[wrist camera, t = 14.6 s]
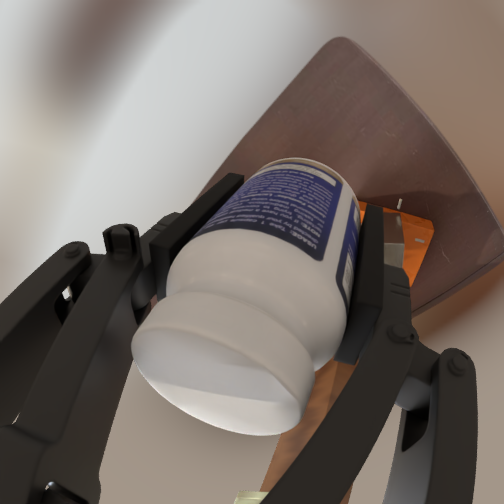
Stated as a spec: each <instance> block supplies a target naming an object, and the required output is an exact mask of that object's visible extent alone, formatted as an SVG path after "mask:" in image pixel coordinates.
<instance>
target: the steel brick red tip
mask: <svg viewBox="0 0 504 504" xmlns="http://www.w3.org/2000/svg"><path fill="white" fill-rule="evenodd" d="M383 214H384V264H388V265H392V266H395V267H399V268H403V258H404V246H405V243H404V235H403V227H402V220H401V214H400V213H391V212H383Z"/></svg>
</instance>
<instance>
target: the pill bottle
mask: <svg viewBox="0 0 504 504" xmlns="http://www.w3.org/2000/svg"><path fill="white" fill-rule="evenodd" d="M360 230H361V214H360V208H359V204H358V201H357V199H356V196H355V194H354V192H353V191H352V189H351V187H350V186H349V185H348V183H347V182H346V181H345V180H344V179H343V178H342V177H341V176H340V175H339V174H338V173H337V172H335V171H334V170H333V169H331V168H330V167H328V166H326V165H324V164H322V163H319V162H317V161H314V160H310V159H305V158H285V159H281V160H277V161H274V162H271V163H269V164H267V165H265V166H264V167H262V168H261V169H259V170H258V171H257V172H256V173H254V174H253V175H252V176H251V177H250V178H249V179H248V180H247V181H246V182H245V183H244V184H243V185H242V186H241V187H240V188H239V189H238V190H237V191H236V192H235V194H234V195H233V196H232V197H231V198H230V199H229V200H228V201H227V202H226V203H225V204H224V205H223V206H222V207H221V208H220V209H219V210H218V211H217V212H216V213H215V214H214V215H213V216H212V217H211V218H210V220H209V221H208V222H207V223H206V224H205V225H204V226H203V227H202V228H201V229H200V230H199V231H198V232H197V233H196V234H195V235H194V236H193V237H192V238H191V239H190V241H189V242H188V243H187V244H186V245H185V246H184V247H183V248H182V250H181V251H180V252H179V254H178V255H177V256H176V258H175V260H174V261H173V263H172V265H171V267H170V270H169V273H168V277H167V285H166V298H164V299H162V300H161V301H159V302H158V303H157V304H156V305H155V307H154V308H153V309H152V311H151V312H150V313H149V315H148V316H147V318H146V319H145V320H144V322H143V323H142V324H141V326H140V327H139V328H138V330H137V331H136V333H135V334H134V336H133V338H132V343H131V351H132V356H133V359H134V362H135V363H136V366H137V367H138V369H139V371H140V372H141V374H142V375H143V376H144V378H145V379H146V380H147V381H148V383H149V384H150V385H151V386H152V387H153V388H154V389H155V390H156V391H157V392H158V393H159V394H161V395H162V396H163V397H164V398H165V399H167V400H168V401H169V402H171V403H172V404H174V405H175V406H177V407H178V408H180V409H181V410H183V411H185V412H186V413H188V414H190V415H191V416H193V417H195V418H197V419H200V420H202V421H204V422H206V423H208V424H211V425H213V426H216V427H219V428H223V429H226V430H229V431H233V432H237V433H243V434H249V435H275V434H280V433H284V432H286V431H289V430H290V429H292V428H294V427H295V426H296V425H297V424H298V423H299V422H300V421H301V419H302V417H303V415H304V413H305V410H306V407H307V404H308V401H309V398H310V394H311V391H312V388H313V386H314V383H315V371H317V370H318V369H320V368H321V367H323V366H324V365H325V364H326V363H327V362H328V361H329V360H330V359H331V358H332V357H333V356H334V354H335V353H336V351H337V350H338V348H339V346H340V344H341V342H342V339H343V335H344V332H345V329H346V325H347V320H348V314H349V308H350V302H351V296H352V290H353V283H354V277H355V269H356V262H357V255H358V247H359V239H360Z"/></svg>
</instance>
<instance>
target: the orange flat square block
mask: <svg viewBox="0 0 504 504" xmlns="http://www.w3.org/2000/svg"><path fill="white" fill-rule="evenodd" d="M401 203H402V199H399V203H398V206H397V209H400V206H401ZM358 204H359V208H360V214H361V225H362V221H363V217H364V213H365V209H366V206H367V203H365V202H361V201H358ZM368 204H369V203H368ZM372 205H373V204H372ZM376 206H377V205H376ZM383 212H391V213H400V214H401V220H402V227H403V235H404V243H405V246H404V258H403V269H404V271H405V272H406V274H407V276H408V277H409V284H410V287H411V286H412V284H413V281H414V279H415V277H416V275H417V272H418V270H419V268H420V265H421V263H422V261H423V258H424V256H425V254H426V251H427V249H428V246H429V244H430V241H431V239H432V236H433V233H434V228H433V224H432V221H430V220H427V219H423V218H420V217H416V216H413V215H409V214H406V213H402V212H399V211H395V210H392V209H388V208H384V207H383Z"/></svg>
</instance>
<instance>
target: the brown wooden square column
mask: <svg viewBox="0 0 504 504" xmlns="http://www.w3.org/2000/svg"><path fill="white" fill-rule="evenodd" d="M333 359H334V356H333V357H332V358H331V359H330V360H329V361H328V362H327V363H326V364H325V365H324V366H323V367H321V368H320V369H318V370H317V371H315V383H314V386H313V388H312V391H311V394H310V398H309V401H308V404H307V407H306V410H305V413H304V415H303V417H302V419H301V421H300V422H299V423H298V424H297V425H296V426H295V427H294V428H292V429H290V430H289V431H286V432H284V433H281V436H280V439H279V441H278V444H277V447H276V450H275V452H274V455H273V458H272V461H271V463H270V466H269V468H268V471H267V474H266V476H265V479H264V482H263V484H262V486H261V489H260V491H259V492H252V491H239V493H238V496H237V498H236V500H235V502H234V504H259V503H260V502H261V501H262V500H263V499H264V497H265V496H266V495H267V494H268V493H269V492H270V490H271V489H272V488H273V487H274V485H275V484H276V483H277V482H278V480H279V479H280V478H281V477H282V475H283V474H284V473H285V472H286V470H287V469H288V468H289V466H290V465H291V464H292V463H293V461H294V460H295V459H296V457H297V456H298V455H299V453H300V452H301V450H302V449H303V448H304V446H305V445H306V444H307V442H308V441H309V439H310V438H311V437H312V435H313V434H314V432H315V431H316V429H317V428H318V426H319V425H320V424H321V422H322V421H323V419H324V418H325V416H326V415H327V413H328V412H329V410H330V408H331V407H332V405H333V404H334V402H335V401H336V399H337V398H338V396H339V394H340V393H341V391H342V390H343V388H344V386H345V385H346V383H347V381H348V380H349V378H350V376H351V375H352V373H353V371H354V370H355V368H356V366H357V364H358V361H359V358H358V360H357V362H356V364H355V366H354V365H350V364H346V363H342V362H338V361H334V360H333ZM352 486H353V484H352V485H351V487H350V488H349V490H348V492H347V493H346V495H345V496H344V498H343V500H342V501H341V503H340V504H348V502H349V498H350V494H351V490H352Z"/></svg>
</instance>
